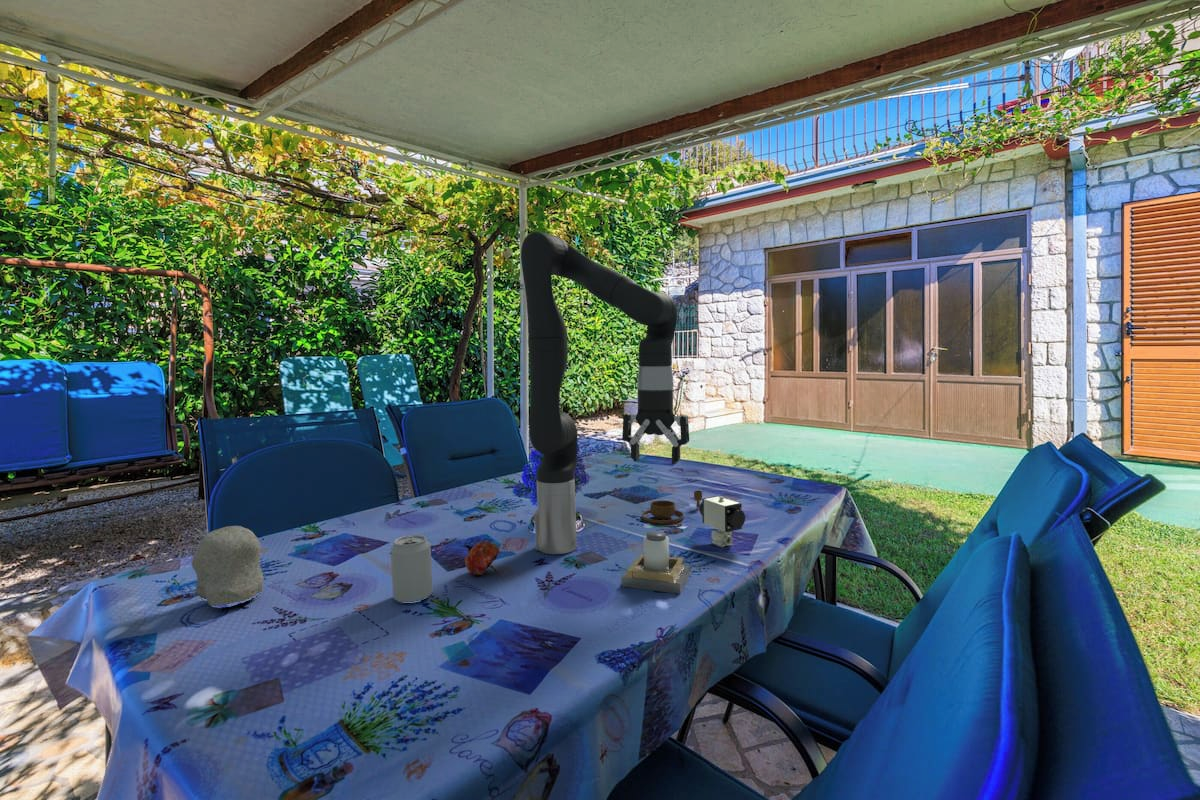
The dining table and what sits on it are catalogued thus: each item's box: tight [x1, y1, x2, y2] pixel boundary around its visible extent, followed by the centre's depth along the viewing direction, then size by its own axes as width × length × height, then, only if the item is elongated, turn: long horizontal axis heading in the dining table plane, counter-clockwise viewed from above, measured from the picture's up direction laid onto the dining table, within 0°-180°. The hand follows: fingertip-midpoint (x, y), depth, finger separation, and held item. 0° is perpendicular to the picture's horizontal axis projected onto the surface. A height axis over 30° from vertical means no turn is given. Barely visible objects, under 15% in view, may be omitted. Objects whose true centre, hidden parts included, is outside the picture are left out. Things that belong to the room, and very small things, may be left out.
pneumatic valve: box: [698, 495, 746, 549], centre depth 138 cm, size 6×12×12 cm, turn 29°
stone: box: [191, 525, 265, 606], centre depth 111 cm, size 11×11×15 cm
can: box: [389, 534, 434, 602], centre depth 112 cm, size 8×8×12 cm
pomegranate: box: [463, 540, 501, 576], centre depth 124 cm, size 7×7×10 cm
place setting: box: [641, 490, 703, 527], centre depth 162 cm, size 18×20×6 cm
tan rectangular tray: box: [621, 553, 691, 595], centre depth 117 cm, size 12×10×4 cm
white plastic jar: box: [643, 530, 670, 573], centre depth 117 cm, size 5×5×8 cm
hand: (655, 462), depth 122 cm, fingers open, 8 cm apart
